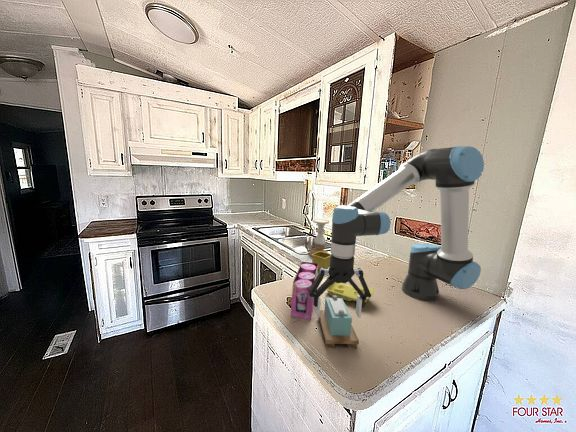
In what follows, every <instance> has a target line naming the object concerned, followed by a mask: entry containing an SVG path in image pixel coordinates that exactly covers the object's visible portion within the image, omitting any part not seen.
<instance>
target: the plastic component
mask: <svg viewBox="0 0 576 432" xmlns="http://www.w3.org/2000/svg"><path fill="white" fill-rule="evenodd" d="M358 287H359V289H360V290H361V291H362V292H365V291H364V289H363V287H362V286H358ZM368 289H369V291H370V294H371V297H372V296H373V294H374V291H375V289H376V287H372V288H369V287H368ZM326 291H327V293H328V294H329V296H332V297H333V295H336V296H337V298H342V299H343V301H344V300H345V301H347V302H351V301H354V302H357V295H359V294H358V293H357V291H356V290H355V289H354V288H353V286H352V285H351V284H350V285H349V284H347V283H336V282H334V283H333V284H332V285H330V286H329V287H328V288H327V290H326ZM359 296H360V295H359ZM371 297H366V300H365V303H367V301H369V300H370V299H371Z"/></svg>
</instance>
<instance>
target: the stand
mask: <svg viewBox="0 0 576 432" xmlns="http://www.w3.org/2000/svg"><path fill="white" fill-rule="evenodd" d="M324 312H325V309H323V310H322V309H320V317H318V320H319V323H320V326H321V330H322V333H323V338H324V341H325V342H324V343H325V344H324V345H325V348H326V349H335V345H347V347H348V349H350V350H351V349H353V350H354V349H358V345H359V343H360V340H359V337H358V335H357V334H356V331H355V329H354V327H353V325H352V324H351V334H350V336H343V335H331V333H330V329H329V326H328V323H327V320H326V316H325V313H324Z"/></svg>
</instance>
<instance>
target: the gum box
mask: <svg viewBox="0 0 576 432" xmlns="http://www.w3.org/2000/svg"><path fill="white" fill-rule="evenodd" d="M318 274H319V270H318V263H312V262H310V261H309V262H308V261H301V263H300V265H299V267H298V270H297V273H296V275H295V277H294V279H293V281H292V291H291V305H290V307H291V308H290V317H292V318H298V319H303V320H309V321H311V320H312V315H313V312H314V311H313V310H314V308H315V307H314V297H310V296H309V289H310V288H311V286H312V284H313V283H314V281H315V279H316V278H317V276H318Z"/></svg>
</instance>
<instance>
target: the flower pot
mask: <svg viewBox="0 0 576 432" xmlns="http://www.w3.org/2000/svg"><path fill="white" fill-rule="evenodd" d="M326 252H327V251H326ZM326 252H322V251H319V252H316V253H314V254H312V258H311V263H318V271H319V270H320V268H321V267H322V268H323V269H329V267H330V255H331V253H329V252H327V253H326Z"/></svg>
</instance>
